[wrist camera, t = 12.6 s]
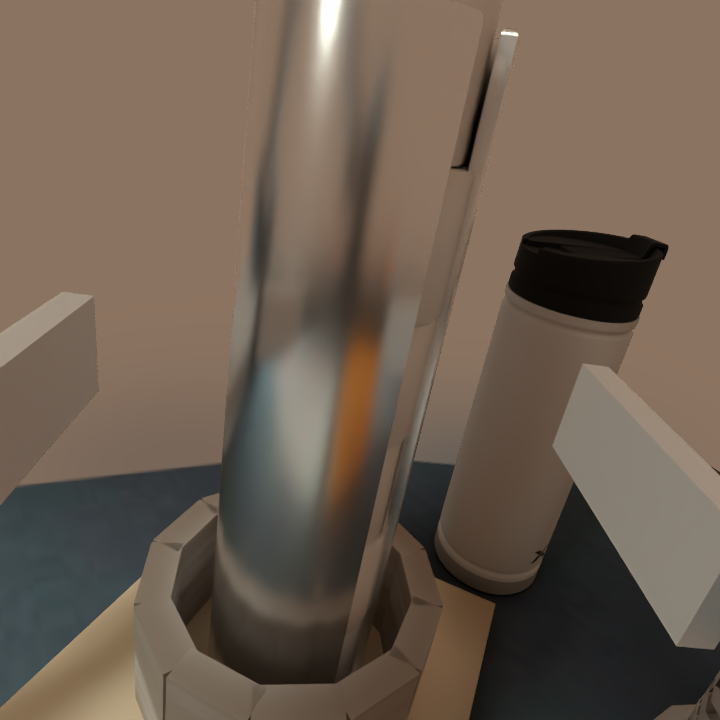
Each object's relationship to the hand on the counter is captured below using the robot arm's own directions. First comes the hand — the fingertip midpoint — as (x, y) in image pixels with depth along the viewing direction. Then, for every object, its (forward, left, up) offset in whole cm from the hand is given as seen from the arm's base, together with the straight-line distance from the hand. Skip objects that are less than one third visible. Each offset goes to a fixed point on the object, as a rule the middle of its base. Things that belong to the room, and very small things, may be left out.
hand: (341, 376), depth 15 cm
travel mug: (+6, +15, -17) cm, 23 cm away
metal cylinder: (-1, +2, -15) cm, 16 cm away
